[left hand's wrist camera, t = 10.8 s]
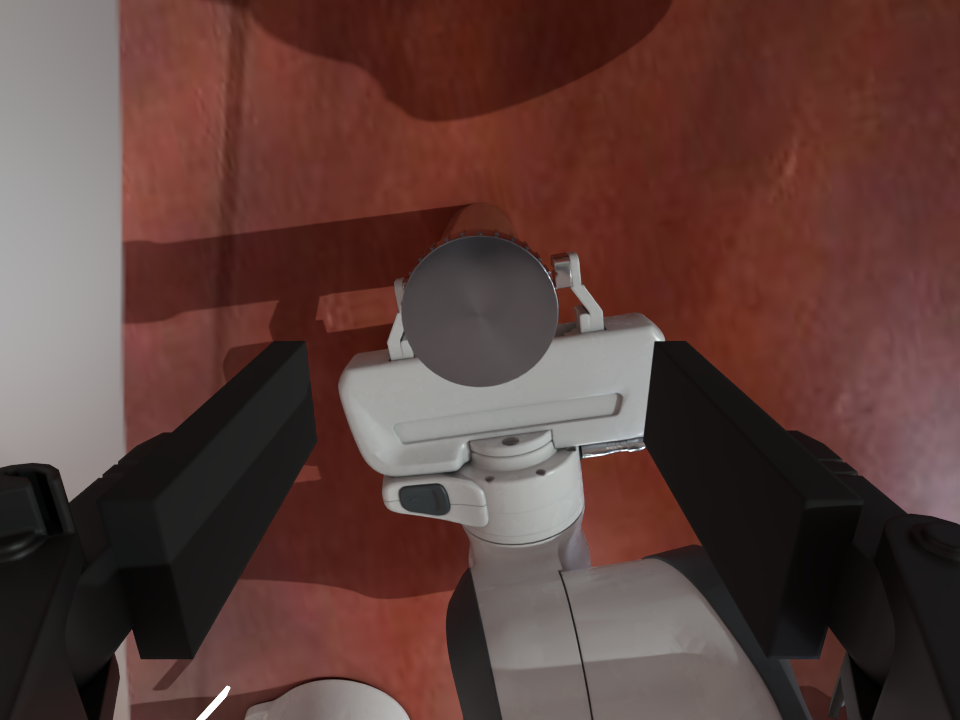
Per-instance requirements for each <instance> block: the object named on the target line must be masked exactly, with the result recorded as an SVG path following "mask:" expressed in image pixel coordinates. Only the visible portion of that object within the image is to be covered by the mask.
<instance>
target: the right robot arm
mask: <svg viewBox="0 0 960 720" xmlns="http://www.w3.org/2000/svg"><path fill="white" fill-rule="evenodd" d="M550 258H551V265H552V267H553V268H554V269H553V271H552V277H553V282H554V284H555V285H556V288H557V289H558V288H566V287H570V288H571V289H572V290H573V292H574V293H575V294H576V296H577V297H578V298H579V300H580V301H581V302H582V304H583V306H582V305H576V306H575V307H574V311H575V322H568V323H561V324H557V328H556V332H555V335H554V338H553V340H552V343H551V345H550V347H549V348H548V350H547V352H546V353H545V355H544V356H543V357H542V359H541V360H540V361H539V362H538V363H537V364H536V365H535V366H534V367H533V368H532V369H530V370H529V371H528V372H527V373H525V374H523V375H522V376H520V377H519V378H517V379H514V380H512V381H510V382H507V383H504V384H501V385H497V386H491V387H469V386H463V385H459V384H456V383H452V382H450V381H448V380H445V379H443V378H441V377H440V376H438V375H436V374H435V373H433V372H432V371H431V370H430V369H428V368H427V367H426V366H425V365H424V364H423V363H422V362H421V361H420V360H419V359H418V357H417V356H416V355H415V353H414V352H413V350H412V348H411V347H410V345H409V343H408V341H407V338H406V336H405V333H404V329H403V325H402V316H401V302H402V298H403V293H404V290H403V288H404V286H405V284H406V282H407V280H409V277H403V278H397V279H396V280H395V282H394V289H395V295H396V299H397V304H398V309H399V311H398V313H397V315H396V318H395V321H394V324H393V327H392V330H391V333H390V335H389V338H388V341H387V345H388V349H383V350H377V351H370V352H362V353H358V354H356V355H354V356H353V357H352V359H351V360H350V361H349V363H348V364H347V365H346V367H345V368H344V370H343V372H342V374H341V376H340V379H339V383H338V390H339V395H340V399H341V403H342V406H343V409H344V412H345V416H346V418H347V421H348V424H349V427H350V429H351V432H352V435H353V437H354V439H355V442H356V444H357V446H358V448H359V451H360V453H361V455H362V456H363V458H364V460H365V461H366V462H367V463H368V465H369V466H370V467H371V468H373V469H374V470H375V471H377V472H379V473H381V474H383V475H384V477H383V485H382V496H383V501H384V504H385V506H386V507H387V508H388V509H389V510H391V511H393V512H397V513H403V514H410V515H418V516H425V517H431V518H437V519H442V520H447V521H452V522H456V523H460V524H462V526H463V528H464V530H465V532H466V534H467V536H468V538H469V540H470V550H469V568H468V569H467V570H466V571H465V573H464V574H463V576H462V577H461V579H460V581H459V583H458V585H457V587H456V589H455V591H454V593H453V595H452V597H451V599H450V601H449V604H448V609H447V616H446V637H447V647H448V654H449V659H450V664H451V669H452V673H453V678H454V682H455V686H456V690H457V694H458V698H459V702H460V706H461V710H462V714H463V720H813V719H812V717H811V715H810V713H809V710H808V708H807V706H806V704H805V701H804V699H803V696H802V694H801V691H800V689H799V686H798V683H797V681H796V678H795V675H794V672H793V669H792V666H791V664H790V661H789V659H767V658H766V656H765V654H764V652H763V651H762V649H761V647H760V646H759V644H758V642H757V640H756V639H755V637H754V635H753V633H752V632H751V630H750V628H749V626H748V625H747V623H746V621H745V619H744V618H743V616H742V614H741V612H740V611H739V609H738V607H737V605H736V604H735V602H734V600H733V598H732V597H731V595H730V593H729V591H728V590H727V588H726V586H725V584H724V583H723V581H722V579H721V577H720V576H719V574H718V572H717V570H716V569H715V567H714V565H713V563H712V562H711V560H710V558H709V556H708V555H707V553H706V551H705V549H704V548H703V547H702V546H699V545H689V546H685V547H681V548H677V549H673V550H670V551H666V552H662V553H658V554H654V555H650V556H646V557H644V558H642V559H640V560H634V561H628V562H622V563H615V564H609V565H603V566H596V567H591V560H590V551H589V546H588V542H587V539H586V537H585V535H584V533H583V531H582V527H581V522H582V519H583V514H584V493H583V483H582V473H581V464H580V460H581V459H584V458H591V457H599V456H605V455H608V454H612V453H616V452H625V451H627V452H636V451H640V450H644V449H646V446H645V444H644V443H643V435H644V427H645V418H646V409H647V401H648V392H649V383H650V375H651V366H652V357H653V349H654V341H665V338H664V335H663V333H662V332H661V331H660V329H659V328H658V327H657V326H656V325H655V324H654V323H653V322H652V321H651V320H649V319H648V318H647V317H645V316H644V315H642V314H640V313H630V314H623V315H616V316H609V317H603V311H602V310H601V308H600V307H599V306H598V304H597V303H596V302H595V300H594V299H593V298H592V296H591V295H590V293H589V292H588V291H587V289H586V288H585V287H584V285H583V284H582V283H581V277H580V267H579V259H578V255H577V253H576V252H575V251H573V252H567V253H561V254H555V255H551V257H550ZM229 689H230V687H228V686H227V687H226V688H225V689H224V690H223V691H222V692H221V693H220V694H219V695H218V697H217V698H216V699H215V700H214V701H213V702H212V703H211V704H210V705H209V706H208V708H207V709H206V710H205V711H204V712H203V713H202V714H201V715H200V716H199V717H198V719H197V720H205V719H206V718H207V717H208V716H209V715H210V714H211V712H212V711H213V710H214V709H215V708H216V707H217V706H218V705H219V704H220V703H221V702H222V700H223V699H224V698H225V697H226V695H227V693H228V691H229ZM244 720H410V719H409V717H408V715H407V713H406V712H405V710H404V709H403V708H402V707H401V706H400V705H399V704H398V703H397V702H396V701H395V700H394V699H393V698H391V697H390V696H389V695H387V694H386V693H384V692H382V691H380V690H378V689H376V688H374V687H371V686H369V685H366V684H362V683H359V682H354V681H348V680H336V679H331V680H319V681H314V682H309V683H306V684H303V685H300V686H298V687H296V688H293V689H292V690H290V691H288V692H287V693H285V694H284V695H282V696H281V697H279V698H278V699H276V700H274V701H270V702H265V703H261V704H257V705H254V706H252V707H250V708H249V709H248V710H247V712H246V716H245V719H244Z"/></svg>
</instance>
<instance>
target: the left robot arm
mask: <svg viewBox="0 0 960 720" xmlns="http://www.w3.org/2000/svg"><path fill="white" fill-rule="evenodd" d="M316 443H317V435H316V427H315V418H314V409H313V401H312V392H311V383H310V375H309V366H308V357H307V349H306V341H274V342H273V343H271V344H270V345H269V346H268V347H267V348H266V349H265V350H264V351H263V352H261V353H260V354H259V355H258V356H257V357H256V358H255V359H254V360H252V361H251V362H250V363H249V364H248V365H247V366H246V367H245V368H244V369H242V370H241V371H240V372H239V373H238V374H237V375H236V376H235V377H233V378H232V379H231V380H230V381H229V382H228V383H227V384H226V385H225V386H223V387H222V388H221V389H220V390H219V391H218V392H217V393H216V394H214V395H213V396H212V397H211V398H210V399H209V400H208V401H207V402H206V403H204V404H203V405H202V406H201V407H200V408H199V409H198V410H197V411H195V412H194V413H193V414H192V415H191V416H190V417H189V418H188V419H187V420H185V421H184V422H183V423H182V424H181V425H180V426H179V427H178V428H176V429H175V430H174V431H173V432H172V433H161V434H159V435H157V436H155V437H153V438H151V439H149V440H147V441H145V442H143V443H141V444H139V445H137V446H136V447H135V448H134V449H132V450H131V451H130V452H129V453H128V454H126V455H125V456H124V457H123V458H122V459H121V460H119V461H118V465H113V466H112V467H111V468H110V469H109V470H107V471H106V472H105V473H104V474H103V477H102V478H98V479H97V480H96V481H94V482H93V483H92V484H91V485H90V486H89V487H87V488H86V489H85V490H84V491H83V492H81V493H80V494H79V495H78V496H77V497H75V498H74V499H73V500H72V501H71V502H68V499H67V495H66V492H65V489H64V486H63V482H62V479H61V476H60V472H59V470H58V469H56V468H55V467H53V466H51V465H49V464H39V463H28V464H18V465H10V466H6V467H2V468H0V720H113V715H114V709H115V703H116V697H117V691H118V685H119V680H120V675H119V668H118V663H117V660H116V656H115V651H116V650H117V648H118V647H119V646H120V644H121V643H122V642H123V640H124V639H125V638H126V636H127V635H128V634H129V632H130V631H131V629H132V630H133V633H134V637H135V640H136V644H137V647H138V651H139V654H140V658H141V659H193V658H194V656H195V654H196V652H197V651H198V649H199V647H200V645H201V644H202V642H203V640H204V639H205V637H206V635H207V633H208V632H209V630H210V628H211V626H212V625H213V623H214V621H215V619H216V618H217V616H218V614H219V612H220V611H221V609H222V607H223V605H224V604H225V602H226V600H227V598H228V597H229V595H230V593H231V591H232V590H233V588H234V586H235V584H236V583H237V581H238V579H239V577H240V576H241V574H242V572H243V570H244V569H245V567H246V565H247V563H248V562H249V560H250V558H251V556H252V555H253V553H254V551H255V549H256V548H257V546H258V544H259V542H260V541H261V539H262V537H263V535H264V534H265V532H266V530H267V528H268V527H269V525H270V523H271V521H272V520H273V518H274V516H275V514H276V513H277V511H278V509H279V507H280V506H281V504H282V502H283V500H284V499H285V497H286V495H287V493H288V492H289V490H290V488H291V486H292V485H293V483H294V481H295V479H296V478H297V476H298V474H299V472H300V471H301V469H302V467H303V465H304V464H305V462H306V460H307V458H308V457H309V455H310V453H311V451H312V450H313V448H314V446H315V444H316ZM643 443H644V444H645V446H646V448H647V450H648V451H649V453H650V455H651V457H652V458H653V460H654V462H655V464H656V465H657V467H658V469H659V471H660V472H661V474H662V476H663V478H664V479H665V481H666V483H667V485H668V486H669V488H670V490H671V492H672V493H673V495H674V497H675V499H676V500H677V502H678V504H679V506H680V507H681V509H682V511H683V513H684V514H685V516H686V518H687V520H688V521H689V523H690V525H691V527H692V528H693V530H694V532H695V534H696V535H697V537H698V539H699V541H700V542H701V544H702V546H703V548H704V549H705V551H706V553H707V555H708V556H709V558H710V560H711V562H712V563H713V565H714V567H715V569H716V570H717V572H718V574H719V576H720V577H721V579H722V581H723V583H724V584H725V586H726V588H727V590H728V591H729V593H730V595H731V597H732V598H733V600H734V602H735V604H736V605H737V607H738V609H739V611H740V612H741V614H742V616H743V618H744V619H745V621H746V623H747V625H748V626H749V628H750V630H751V632H752V633H753V635H754V637H755V639H756V640H757V642H758V644H759V646H760V647H761V649H762V651H763V652H764V654H765V656H766V658H767V659H819V658H820V654H821V651H822V647H823V644H824V640H825V637H826V633H827V630H828V626H829V628H830V629H831V630H832V632H833V633H834V635H835V636H836V637H837V639H838V640H839V641H840V643H841V644H842V645H843V647H844V648H845V649H846V653H845V656H844V660H843V663H842V666H841V670H840V673H839V676H838V679H837V683H836V686H835V689H834V693H833V696H832V699H831V703H830V708H829V715H828V716H829V717H832V718H835V719H838V716H839V713H840V710H841V706H843V705H845V707H846V713H847V719H848V720H960V525H959V524H957V523H954V522H950V521H947V520H943V519H940V518H936V517H933V516H925V515H917V514H907V513H906V512H905V511H904V510H902V509H901V508H900V507H899V506H898V505H896V504H895V503H894V502H893V501H892V500H890V499H889V498H888V497H887V496H886V495H884V494H883V493H882V492H881V491H880V490H878V489H877V488H876V487H875V486H874V485H872V484H871V483H870V482H869V481H868V480H866V479H865V478H864V477H863V476H858V472H857V471H856V470H854V469H853V468H852V467H851V466H850V465H848V464H847V463H846V462H842V459H841V458H840V457H839V456H838V455H837V454H835V453H834V452H833V451H832V450H831V449H829V448H828V447H827V446H826V445H825V444H823V443H821V442H819V441H817V440H815V439H813V438H811V437H809V436H807V435H805V434H803V433H801V432H799V431H786V430H785V429H784V428H782V427H781V426H780V425H779V424H778V423H777V422H776V421H775V420H773V419H772V418H771V417H770V416H769V415H768V414H767V413H766V412H765V411H763V410H762V409H761V408H760V407H759V406H758V405H757V404H756V403H754V402H753V401H752V400H751V399H750V398H749V397H748V396H747V395H746V394H744V393H743V392H742V391H741V390H740V389H739V388H738V387H737V386H735V385H734V384H733V383H732V382H731V381H730V380H729V379H728V378H727V377H725V376H724V375H723V374H722V373H721V372H720V371H719V370H718V369H716V368H715V367H714V366H713V365H712V364H711V363H710V362H709V361H708V360H706V359H705V358H704V357H703V356H702V355H701V354H700V353H699V352H697V351H696V350H695V349H694V348H693V347H692V346H691V345H690V344H689V343H687V342H686V341H654V349H653V357H652V366H651V375H650V383H649V392H648V401H647V409H646V418H645V427H644V435H643Z"/></svg>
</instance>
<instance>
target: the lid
mask: <svg viewBox="0 0 960 720" xmlns="http://www.w3.org/2000/svg"><path fill="white" fill-rule="evenodd" d="M418 261H419V262H418V264H417V265H416V266H415V265H414V266H413V268H412V269H411V271H410V273H409V274H410V277H409V280H407V282H406V284H405V286H404V288H403V290H404V293H403V298H402V302H401V316H402V325H403V329H404V333H405V336H406V338H407V341H408V343H409V345H410V347H411V348H412V350H413V352H414V353H415V355H416V356H417V357H418V359H419V360H420V361H421V362H422V363H423V364H424V365H425V366H426V367H427V368H428V369H430V370H431V371H432V372H433V373H435V374H436V375H438V376H440V377H441V378H443V379H445V380H448V381H450V382H452V383H456V384H459V385H463V386H469V387H491V386H497V385H501V384H504V383H507V382H510V381H512V380H514V379H517V378H519V377H520V376H522V375H523V374H525V373H527V372H528V371H529V370H530V369H532V368H533V367H534V366H535V365H536V364H537V363H538V362H539V361H540V360H541V359H542V357H543V356H544V355H545V353H546V352H547V350H548V348H549V347H550V345H551V343H552V340H553V338H554V335H555V332H556V328H557V324H558V319H559V318H558V315H559V310H558V305H559V301H558V299H557V294H556V290H555V289H557V288H556V285H555V284H554V282H553V280H552V279H551V278H550V276H549V274H551V273H550V271H549V269H548V268H547V266H546V265H543V264H542V262H541V258H540V256H539V255H538V253H537V252H535V253H534V252H533V251H532V250H531V249H530V248H529V246H528V245H527V243H526V242H525V241H524V242H521V241H520V240H518V239H516V238H514V236H513V234H511V233H510V235H508V234H505V233H503V232H500V231H498V230H497V229H496V228H495V229H494V230H490V229H481V227H478V229H470V230H465V228H464V229H462V231H460V232H457V233H454V234H452V235H450V234H447V235H446V237H445V238H444V239H442V240H440V241H439V242H437V243H436V242H434V243H433V244H432V246H431V248H430V249H429V250H428V251H427V252H426V253H424V252H423V253H422V254H421V256H420V258H419V259H418Z"/></svg>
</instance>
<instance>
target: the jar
mask: <svg viewBox="0 0 960 720" xmlns="http://www.w3.org/2000/svg"><path fill="white" fill-rule="evenodd" d="M478 227H481V229H490V230H494V229H495V228H496V229H497V230H498V231H500V232H503V233H505V234H508V235H510V233H511V234H513V236H514V238H516V239H518V240H520V239H519V237H518V235H517V233H516V231H515V229H514V227H513V224H512V222H511V221H510V219H509V218H508V216H507V215H506V214H505V213H504V212H503V211H502V210H500V209H499V208H497V207H495V206H493V205H490V204H485V203H475V204H470V205H467V206H465V207H463V208H461V209H460V210H458V211H457V212H456V213H455V214H454V215H453V216H452V218H451V219H450V221H449V222H448V224H447V226H446V229H445V231H444V233H443V235H442V237H441V239H440V240H442V239H444V238H445V237H446V235H447V234H450V235H452V234H454V233H457V232H460V231H462V229H464V228H465V230H470V229H478Z"/></svg>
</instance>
